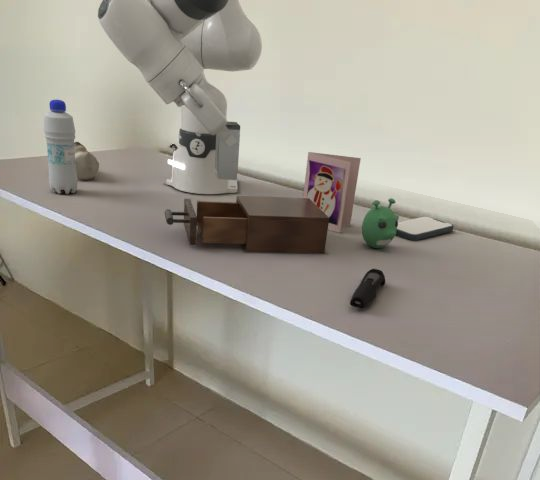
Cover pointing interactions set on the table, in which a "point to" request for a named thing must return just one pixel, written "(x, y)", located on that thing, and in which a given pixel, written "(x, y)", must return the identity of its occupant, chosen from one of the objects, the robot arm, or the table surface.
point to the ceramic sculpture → (85, 162)
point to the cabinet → (284, 225)
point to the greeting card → (332, 186)
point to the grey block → (227, 154)
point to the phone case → (422, 228)
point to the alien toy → (380, 225)
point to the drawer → (212, 222)
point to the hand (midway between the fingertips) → (231, 141)
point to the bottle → (60, 148)
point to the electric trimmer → (367, 288)
